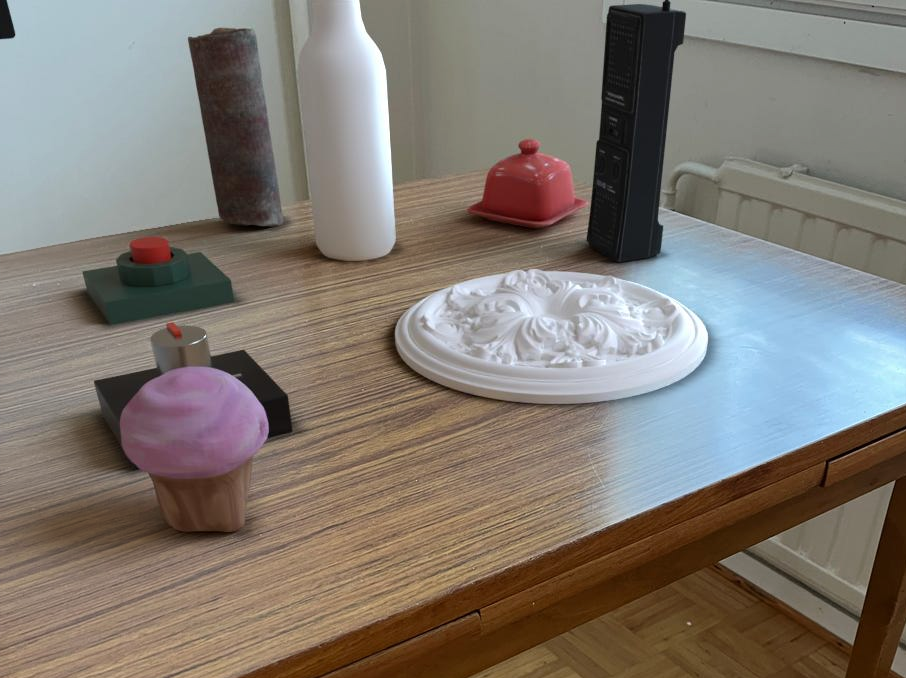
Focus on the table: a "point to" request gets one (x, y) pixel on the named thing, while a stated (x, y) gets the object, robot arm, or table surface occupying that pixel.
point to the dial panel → (238, 364)
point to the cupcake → (196, 445)
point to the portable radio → (633, 129)
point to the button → (150, 250)
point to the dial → (180, 348)
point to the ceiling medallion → (551, 338)
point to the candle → (236, 126)
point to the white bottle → (346, 134)
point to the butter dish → (528, 189)
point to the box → (157, 286)
